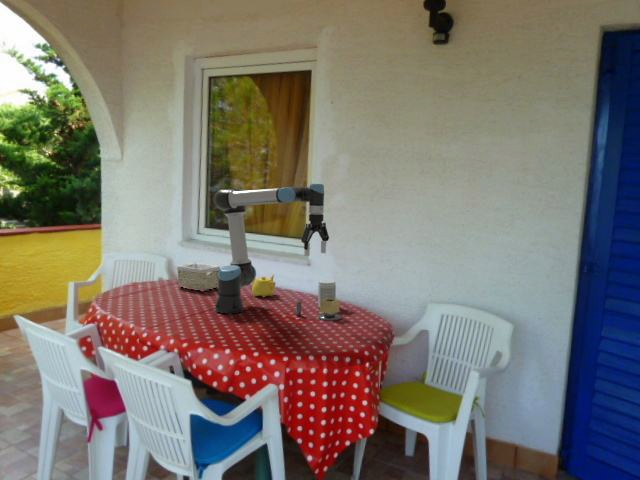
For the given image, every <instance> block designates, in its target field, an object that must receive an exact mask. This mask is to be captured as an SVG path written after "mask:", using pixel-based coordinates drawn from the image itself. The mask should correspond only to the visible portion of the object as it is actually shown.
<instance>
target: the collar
mask: <svg viewBox="0 0 640 480" xmlns="http://www.w3.org/2000/svg"><path fill="white" fill-rule="evenodd" d="M340 302H341V300H339V299H336V298H335V299H331V298H328V299H324V300H320V308H319V310H320V311H319V312H320V313H322V314H324V313H327V314H334V313H335V314H338V313H339V312H340V304H341V303H340Z"/></svg>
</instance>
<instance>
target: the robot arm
mask: <svg viewBox="0 0 640 480" xmlns="http://www.w3.org/2000/svg"><path fill="white" fill-rule="evenodd" d="M305 202H307V203H309V204H308V213H309V214H308V221H309V223H306V224H305V229H304V231H303V235H302V237H301V241H300V242H301V243H303V246H304V247H303V249H304V256H306V257H310V249H311V247H310V246H311V245H310V244H311V243H310V240H311V239H312V237H313V235H314V234H315V233H318V235H319V237H320V238H321V241H320V254H326V252H327V242H328V241H329V240H330V236H329V233H328V230H327V222H324V206H325V205H324V204H325V203H324V202H325V186H324V184H323V183H310V184H309V186H307V187H306V186H305V187H302V186H284V187H277V188H276V187H275V188H263V189H251V190H249V189H248V190H242V189H238V188H222V189H218V190H217V192H215V194H214V195H213V203H214V205H215V206H216V207H217V209H218V210H221V211H223V214H224V215H225V217H226V218H227V223H228V224H227V226H228V230H229V231H228V232H229V241H230V249H231V257H232V260H231V262H230V264H228V265H224V266H220V269H219V272H218V288H217V291H218V293H217V294H218V295H217V299H216V303H215V307H214V312H215V313H217V312H220V313H219V314H222V313H226V314H225V315H233V314H232V313H234V314H238V313H239V312H240V313H243V312H244V309H245V306H244V302H243V299H242V296H241V295H242V292H241V288H243V287H246V286H249V285H251V284H253V283H252V282H253V281H254V280H255V279H256V277H257V271H256V267H255V266H253V264H252V260H251V259H250V258H249V255H248V246H247V235H246V228H245V219H244V215H245V214H246V213H247V212H246V211H247V210H246V208H247V206H255V205H256V206H257V205H268V204H269V205H270V204H284V203H285V204H287V203H305Z"/></svg>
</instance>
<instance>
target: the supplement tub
mask: <svg viewBox="0 0 640 480" xmlns="http://www.w3.org/2000/svg"><path fill="white" fill-rule="evenodd" d="M336 285H337V284H336V280H333V279H331V280H330V279H321V280H318V290H317V291H318V297H317V299H318V300H317V301H318V302H317V305H318V308H319V309H320V300H324V299H328V298H331V299H336V292H337V291H336Z"/></svg>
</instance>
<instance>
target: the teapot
mask: <svg viewBox="0 0 640 480" xmlns="http://www.w3.org/2000/svg"><path fill="white" fill-rule="evenodd" d="M274 277H275V274H273V275H271V277H270V278H269V277H266V276H264V275H263V276H261V277H260V278H259V277H258V278H255V280H254V281H253V282H252V283H251V284H252V288H251V291H252V292H251V293H252V294H253V295H254V297H255V296H258V297H259V296H260V297H261V298H262V297H266V298H267V296H268V297H272V296H273V294H274V293H275V292H276V288H275V287H276V285H277V283H276V281H274Z"/></svg>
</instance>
